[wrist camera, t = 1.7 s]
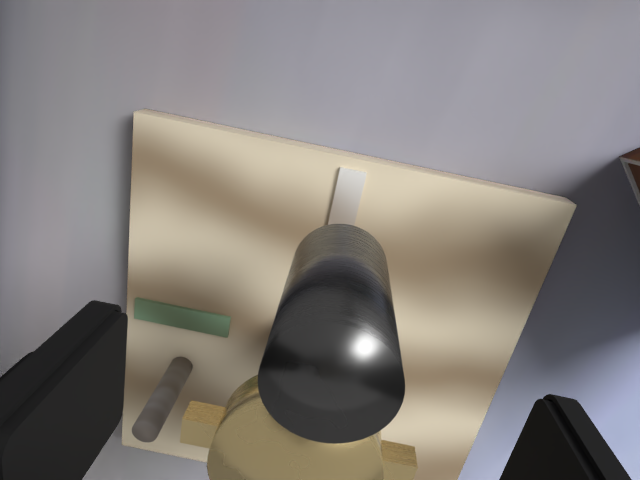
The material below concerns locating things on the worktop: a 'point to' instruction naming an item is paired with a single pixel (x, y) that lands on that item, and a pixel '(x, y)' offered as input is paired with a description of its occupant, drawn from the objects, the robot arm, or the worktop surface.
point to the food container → (632, 170)
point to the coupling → (317, 376)
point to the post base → (275, 261)
